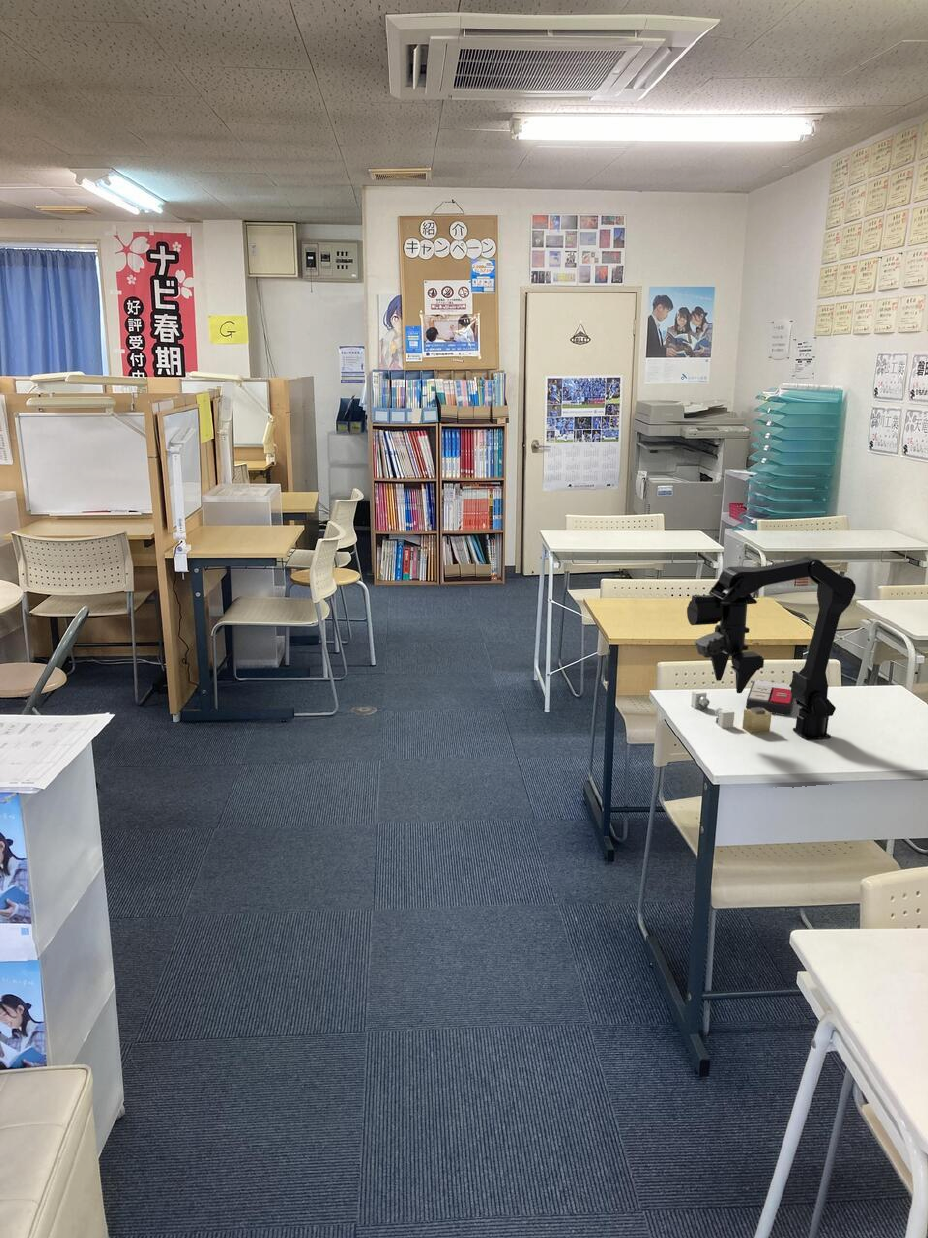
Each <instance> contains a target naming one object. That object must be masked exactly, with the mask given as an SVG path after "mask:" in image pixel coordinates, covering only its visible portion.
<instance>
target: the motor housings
mask: <svg viewBox="0 0 928 1238" xmlns="http://www.w3.org/2000/svg"><path fill="white" fill-rule="evenodd" d="M707 694H708V693H707V692H706V691H704V690H692V692H691V707H693V709H698V705H700V704H699V703H698V702H697V698H698V697H699V696H704V697H705V698H707ZM718 718H719V719H718V723H717V726H718V727H720V728H721V729H728V728H734V721H735V711H734V710H732V709H731V708H727V709H723V710H719V717H718Z"/></svg>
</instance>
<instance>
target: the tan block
mask: <svg viewBox="0 0 928 1238" xmlns="http://www.w3.org/2000/svg"><path fill="white" fill-rule="evenodd" d="M772 715H773V713H770V712H768V711H767V710H765V709H764V708H761V707H755V708H751V709H744V710H743V718H742V719H743V720H742V726H741V727H742V729H743V730H744V731H745V732H747V733H748V734H750V735H758V734H759V735H762V734H770V733H771V732H770V731H771V723H772Z"/></svg>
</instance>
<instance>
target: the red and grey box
mask: <svg viewBox="0 0 928 1238" xmlns="http://www.w3.org/2000/svg"><path fill="white" fill-rule="evenodd" d="M789 685H790V684H787V683H781V682H771V681H764V680H758V679H755V680H753V682H752V685H751V688H750V690H749V693H748V696H747V699H746V706H745V708H747V709H751V708H755V707H761V708H764V709H765V710H767V711H768V712H772V713H771V714H776V713H777V714H778V715H782V714H783V715H784V716H791V714H792V710H793V706H794V702H795V698H794V697H793V696H792V694H791V687H789ZM777 714H776V715H777Z"/></svg>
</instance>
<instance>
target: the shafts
mask: <svg viewBox="0 0 928 1238" xmlns="http://www.w3.org/2000/svg"><path fill="white" fill-rule="evenodd" d="M697 702H698V703H699V704H700V705H698V708H697V710H698V709H699V710H698V711H700V710H702V711H707V710H708V707H709V705H710V700H709V699H708V698H707V697H706V698H705V697H704V696H699V697H698V698H697ZM719 710H724V709H723V708H716V710H715V712H714V714H715V716H716V720H715V723H716V724H718V719H719Z"/></svg>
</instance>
